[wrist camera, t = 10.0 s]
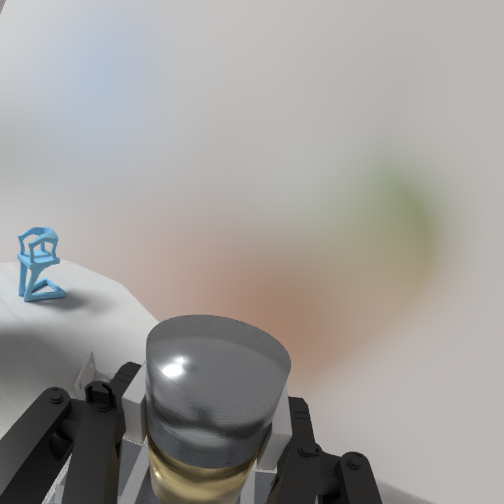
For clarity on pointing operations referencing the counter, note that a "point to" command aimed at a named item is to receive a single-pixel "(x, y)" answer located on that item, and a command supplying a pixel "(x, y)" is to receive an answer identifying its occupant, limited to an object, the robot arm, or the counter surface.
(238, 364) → the gold and grey cylinder
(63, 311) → the counter surface
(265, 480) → the coupling board
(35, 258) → the chair
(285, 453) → the robot arm
